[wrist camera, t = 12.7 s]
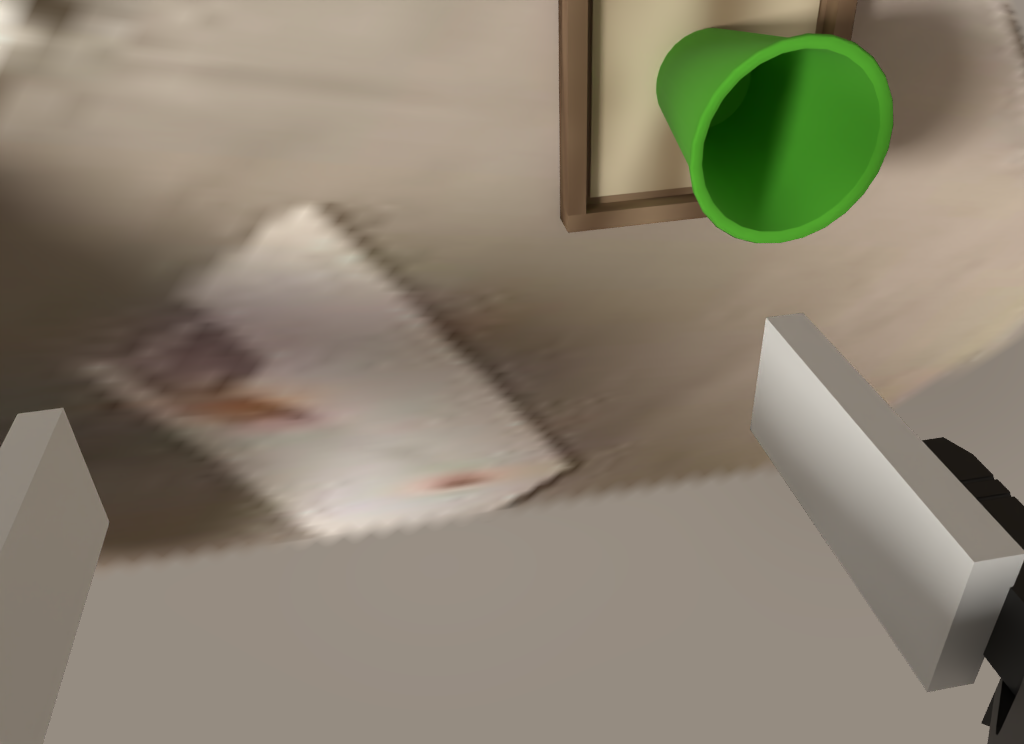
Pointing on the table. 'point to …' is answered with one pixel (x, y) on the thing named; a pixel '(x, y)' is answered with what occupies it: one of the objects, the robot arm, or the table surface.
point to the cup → (775, 127)
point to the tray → (645, 98)
